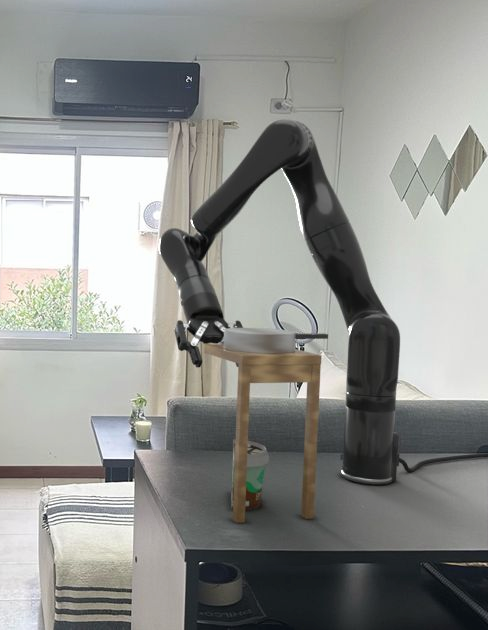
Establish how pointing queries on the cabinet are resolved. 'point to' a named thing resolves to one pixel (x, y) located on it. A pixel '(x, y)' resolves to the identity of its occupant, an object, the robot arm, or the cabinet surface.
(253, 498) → the food container
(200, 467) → the cabinet surface
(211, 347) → the pan shelf
